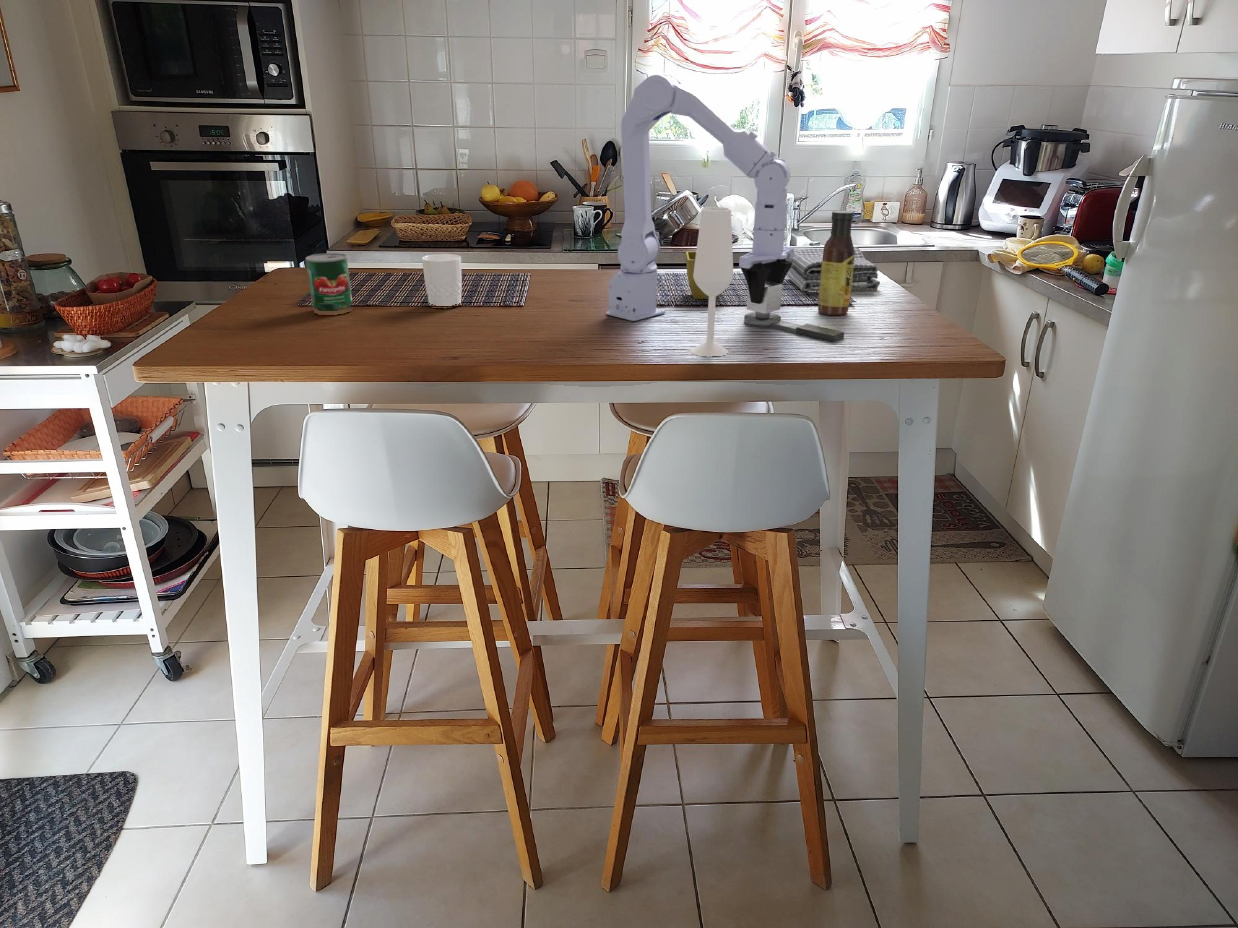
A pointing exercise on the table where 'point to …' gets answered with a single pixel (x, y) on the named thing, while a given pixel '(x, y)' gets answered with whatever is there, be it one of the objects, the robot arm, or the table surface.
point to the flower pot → (694, 288)
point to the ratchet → (792, 327)
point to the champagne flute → (713, 267)
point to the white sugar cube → (767, 299)
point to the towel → (809, 271)
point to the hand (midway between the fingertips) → (764, 300)
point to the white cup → (443, 279)
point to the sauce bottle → (837, 266)
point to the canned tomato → (329, 281)
